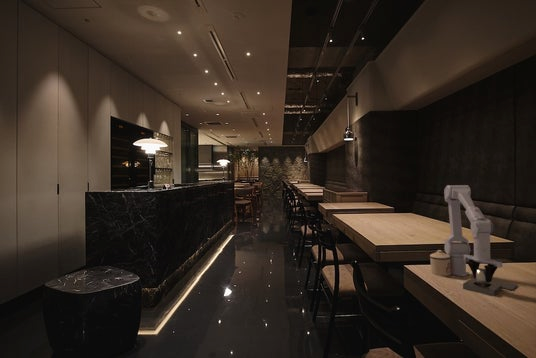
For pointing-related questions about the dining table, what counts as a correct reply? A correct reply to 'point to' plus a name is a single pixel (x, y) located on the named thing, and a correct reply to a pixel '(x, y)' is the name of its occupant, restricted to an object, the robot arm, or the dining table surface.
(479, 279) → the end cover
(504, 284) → the rubber mat
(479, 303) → the dining table surface
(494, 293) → the block
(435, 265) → the teacup with lid
